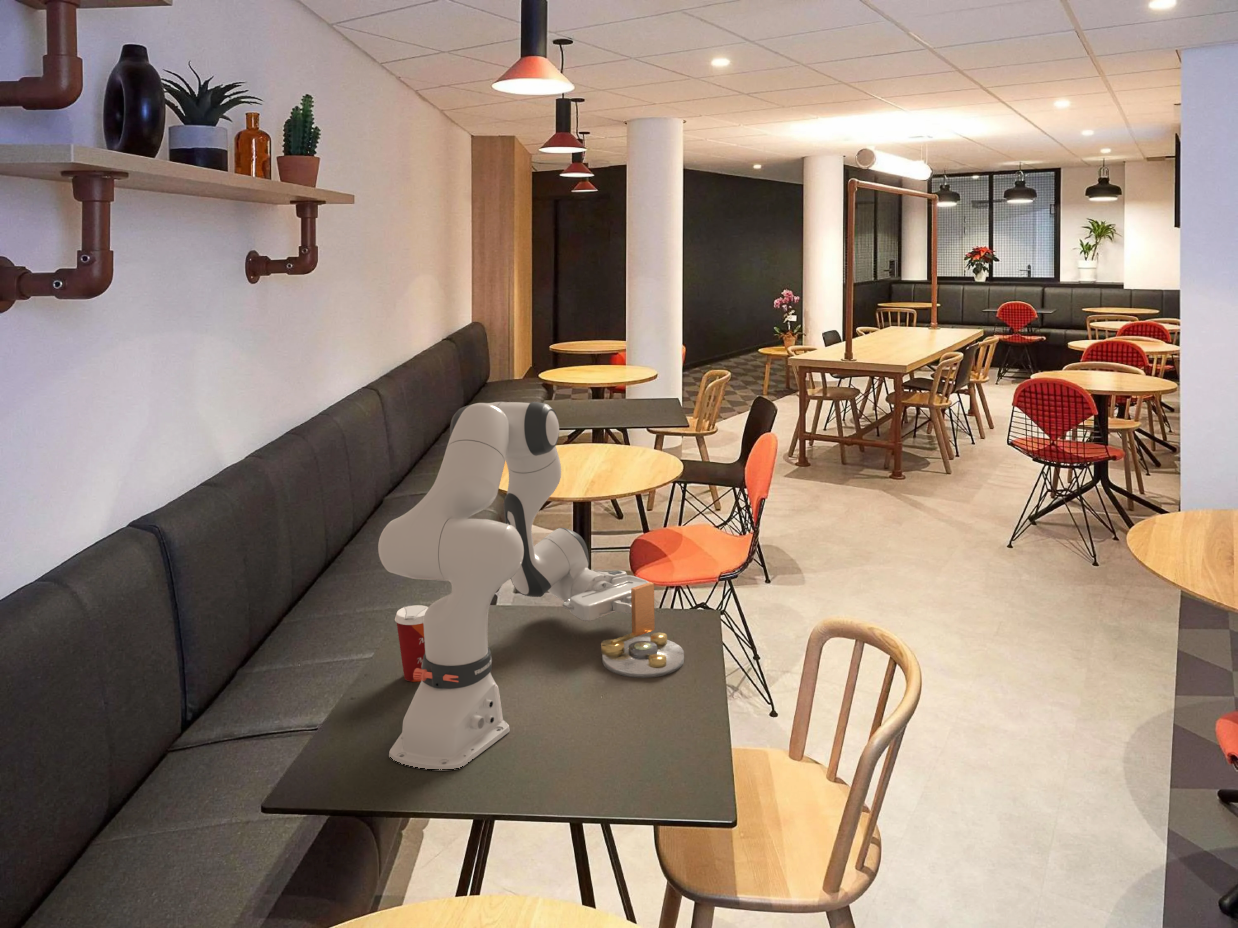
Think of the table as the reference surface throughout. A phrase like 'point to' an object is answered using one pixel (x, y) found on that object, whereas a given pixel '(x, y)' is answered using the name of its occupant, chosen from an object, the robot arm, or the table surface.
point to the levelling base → (646, 657)
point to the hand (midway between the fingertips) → (636, 608)
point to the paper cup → (411, 638)
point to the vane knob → (635, 619)
